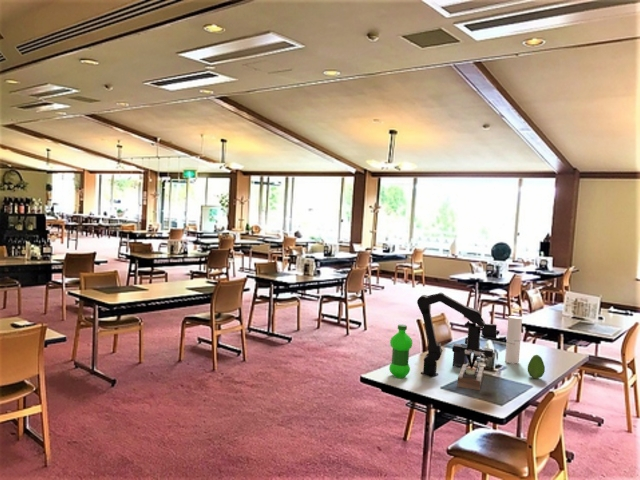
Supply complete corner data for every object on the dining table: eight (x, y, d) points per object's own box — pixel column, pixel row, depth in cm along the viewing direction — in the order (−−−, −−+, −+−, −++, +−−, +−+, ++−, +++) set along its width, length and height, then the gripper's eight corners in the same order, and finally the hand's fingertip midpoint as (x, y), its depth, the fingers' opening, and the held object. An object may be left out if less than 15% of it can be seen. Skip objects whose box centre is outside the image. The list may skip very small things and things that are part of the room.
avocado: (533, 381, 256) (535, 357, 256) (523, 376, 264) (525, 352, 263) (547, 380, 258) (549, 356, 258) (537, 375, 266) (538, 352, 265)
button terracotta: (475, 373, 249) (475, 369, 249) (466, 371, 251) (466, 368, 251) (475, 371, 253) (476, 367, 253) (467, 369, 254) (467, 366, 254)
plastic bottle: (395, 371, 259) (398, 322, 258) (413, 376, 253) (417, 326, 251) (384, 375, 252) (387, 324, 250) (403, 381, 245) (406, 329, 244)
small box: (463, 369, 270) (465, 349, 270) (452, 366, 274) (453, 346, 274) (471, 365, 279) (472, 345, 278) (459, 362, 283) (461, 343, 282)
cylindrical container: (520, 363, 286) (524, 319, 284) (507, 363, 286) (511, 318, 284) (516, 360, 293) (519, 316, 291) (503, 359, 293) (506, 315, 292)
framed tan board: (479, 390, 238) (480, 378, 238) (457, 386, 242) (457, 374, 241) (483, 374, 262) (484, 363, 262) (462, 371, 266) (463, 360, 266)
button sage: (474, 375, 242) (474, 372, 242) (465, 374, 243) (465, 370, 243) (474, 373, 245) (475, 369, 245) (466, 372, 247) (466, 368, 247)
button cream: (476, 366, 257) (477, 363, 256) (468, 365, 258) (468, 362, 258) (477, 364, 260) (477, 361, 260) (469, 363, 262) (469, 360, 262)
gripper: (494, 335, 255) (492, 366, 256) (455, 330, 262) (453, 360, 263) (493, 340, 245) (491, 372, 246) (453, 334, 251) (451, 366, 252)
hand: (471, 367), depth 252 cm, fingers closed, pressing on button terracotta
